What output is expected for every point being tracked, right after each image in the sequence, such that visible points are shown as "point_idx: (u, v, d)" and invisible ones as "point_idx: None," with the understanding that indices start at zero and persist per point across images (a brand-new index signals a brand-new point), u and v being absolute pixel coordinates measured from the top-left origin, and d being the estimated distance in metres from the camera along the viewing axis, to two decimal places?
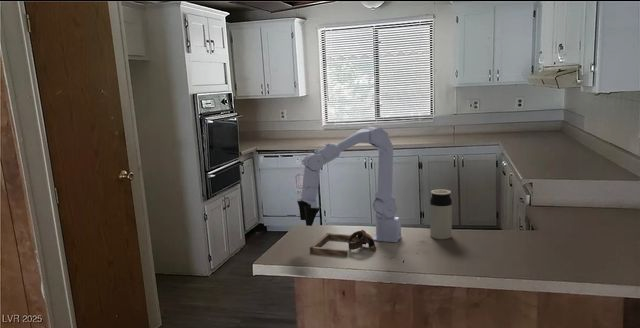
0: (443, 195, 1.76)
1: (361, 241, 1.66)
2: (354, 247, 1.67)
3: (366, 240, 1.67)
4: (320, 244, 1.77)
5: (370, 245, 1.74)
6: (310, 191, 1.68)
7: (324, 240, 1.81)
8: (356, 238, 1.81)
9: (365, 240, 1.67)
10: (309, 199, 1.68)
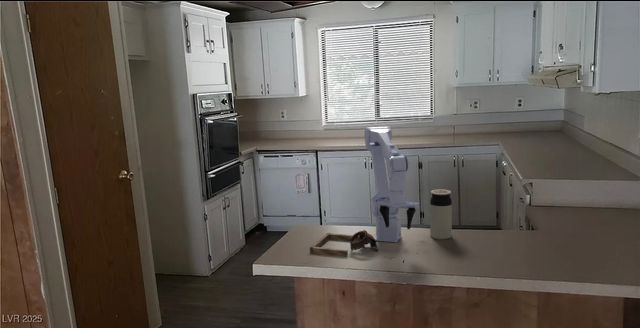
0: (443, 195, 1.76)
1: (363, 241, 1.66)
2: (356, 247, 1.67)
3: (368, 240, 1.67)
4: (320, 244, 1.77)
5: (372, 245, 1.73)
6: (405, 195, 1.62)
7: (324, 240, 1.81)
8: (356, 238, 1.81)
9: (367, 240, 1.67)
10: (405, 202, 1.62)
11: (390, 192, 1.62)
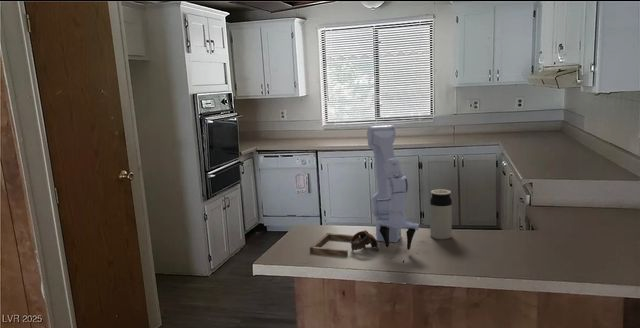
0: (443, 195, 1.76)
1: (364, 241, 1.66)
2: (357, 247, 1.66)
3: (369, 240, 1.66)
4: (320, 244, 1.77)
5: (373, 245, 1.73)
6: (405, 215, 1.63)
7: (324, 240, 1.81)
8: (356, 238, 1.81)
9: (368, 240, 1.66)
10: (405, 223, 1.64)
11: (390, 213, 1.64)
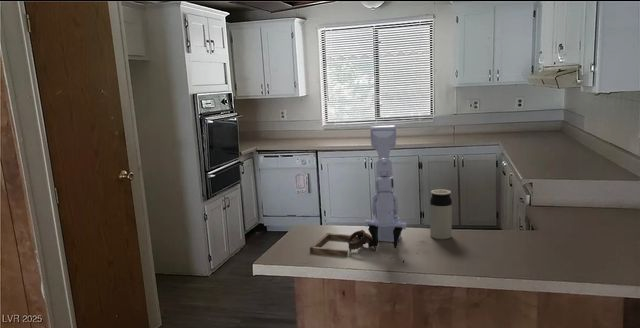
0: (443, 195, 1.76)
1: (362, 241, 1.66)
2: (355, 247, 1.67)
3: (367, 240, 1.67)
4: (320, 244, 1.77)
5: (370, 245, 1.74)
6: (392, 215, 1.65)
7: (324, 240, 1.81)
8: (356, 238, 1.81)
9: (366, 240, 1.67)
10: (392, 222, 1.65)
11: (378, 212, 1.65)
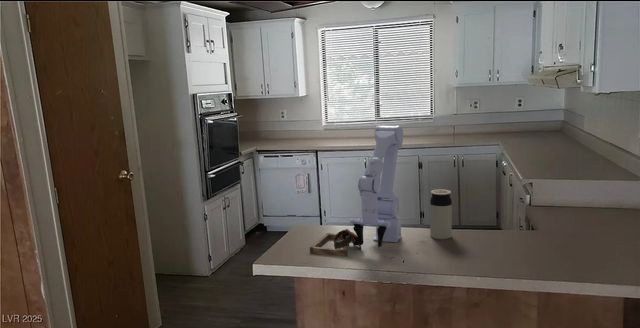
0: (443, 195, 1.76)
1: (347, 240, 1.68)
2: (341, 246, 1.68)
3: (352, 239, 1.69)
4: (320, 244, 1.77)
5: (355, 244, 1.76)
6: (376, 213, 1.67)
7: (324, 240, 1.81)
8: None
9: (351, 239, 1.69)
10: (377, 221, 1.67)
11: (362, 211, 1.68)
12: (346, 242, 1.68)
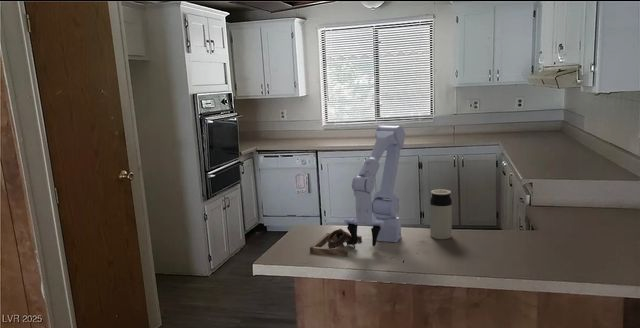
0: (443, 195, 1.76)
1: (342, 239, 1.69)
2: (335, 246, 1.69)
3: (346, 238, 1.70)
4: (320, 244, 1.77)
5: (348, 243, 1.77)
6: (370, 213, 1.68)
7: (324, 240, 1.81)
8: None
9: (345, 238, 1.69)
10: (371, 221, 1.68)
11: (356, 211, 1.69)
12: (340, 242, 1.69)
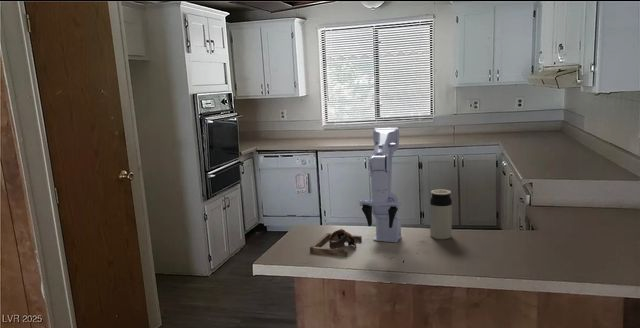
0: (443, 195, 1.76)
1: (343, 240, 1.69)
2: (336, 246, 1.69)
3: (348, 238, 1.69)
4: (320, 244, 1.77)
5: (349, 243, 1.76)
6: (386, 194, 1.64)
7: (324, 240, 1.81)
8: (356, 238, 1.81)
9: (347, 238, 1.69)
10: (387, 201, 1.64)
11: (372, 191, 1.65)
12: (342, 242, 1.68)
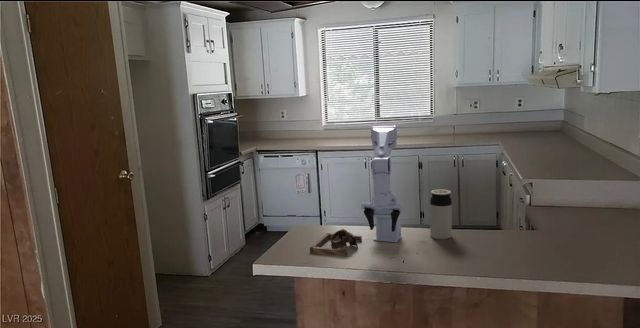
0: (443, 195, 1.76)
1: (345, 240, 1.68)
2: (338, 246, 1.69)
3: (349, 238, 1.69)
4: (320, 244, 1.77)
5: (351, 243, 1.76)
6: (389, 197, 1.60)
7: (324, 240, 1.81)
8: (356, 238, 1.81)
9: (348, 239, 1.69)
10: (389, 204, 1.60)
11: (374, 194, 1.61)
12: (343, 242, 1.68)
